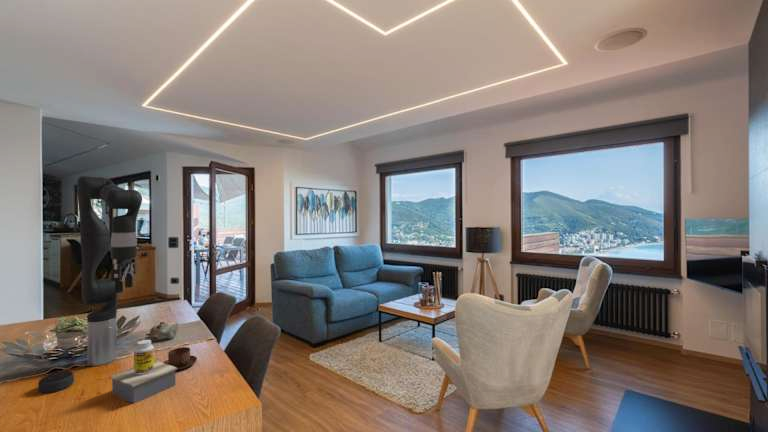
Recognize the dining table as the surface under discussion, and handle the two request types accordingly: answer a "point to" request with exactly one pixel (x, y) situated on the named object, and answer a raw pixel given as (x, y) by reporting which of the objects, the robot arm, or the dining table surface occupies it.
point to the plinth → (143, 382)
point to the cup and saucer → (180, 358)
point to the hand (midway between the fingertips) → (124, 289)
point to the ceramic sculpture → (162, 332)
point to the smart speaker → (56, 382)
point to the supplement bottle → (143, 357)
